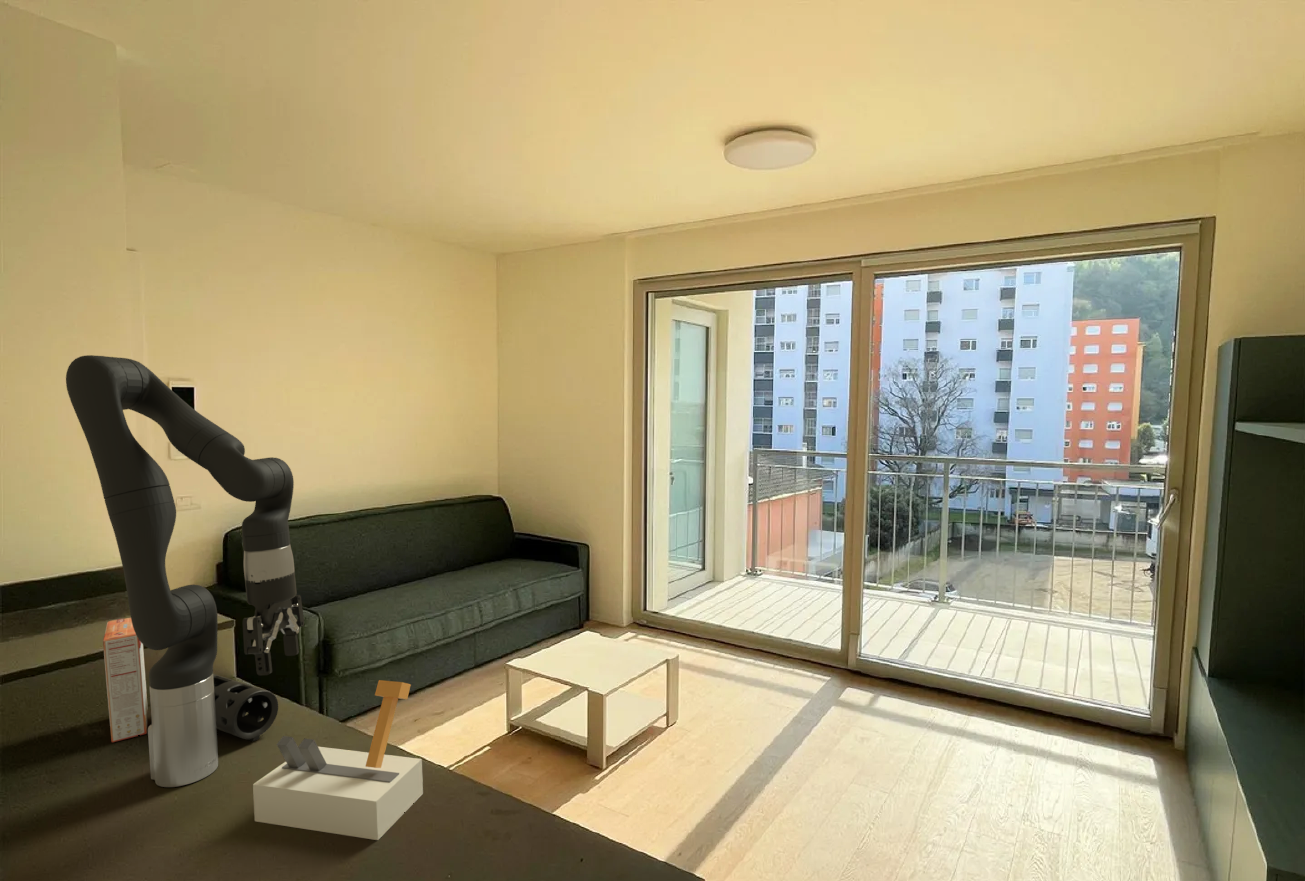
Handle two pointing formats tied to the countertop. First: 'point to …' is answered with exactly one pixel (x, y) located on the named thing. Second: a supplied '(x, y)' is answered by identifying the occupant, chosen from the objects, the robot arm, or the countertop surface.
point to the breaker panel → (336, 790)
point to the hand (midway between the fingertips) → (278, 664)
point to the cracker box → (125, 680)
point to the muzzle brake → (243, 708)
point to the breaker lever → (385, 718)
